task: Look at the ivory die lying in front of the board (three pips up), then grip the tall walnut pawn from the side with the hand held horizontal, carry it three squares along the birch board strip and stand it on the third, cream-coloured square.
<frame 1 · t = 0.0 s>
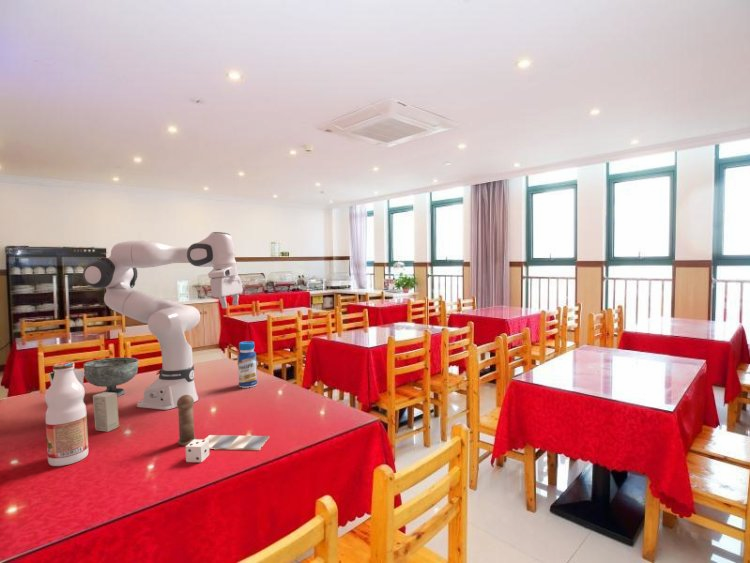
hand: (230, 306, 160), 39 cm above the table, tool pointing down, fingers open, 8 cm apart
board: (233, 443, 124), on the table
pawn: (187, 442, 126), on the table
skincare box: (106, 429, 138), on the table
die: (198, 458, 115), on the table
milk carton: (69, 420, 146), on the table
bowl: (113, 395, 174), on the table
beverage bottle: (248, 386, 184), on the table
fruit juice: (69, 459, 116), on the table
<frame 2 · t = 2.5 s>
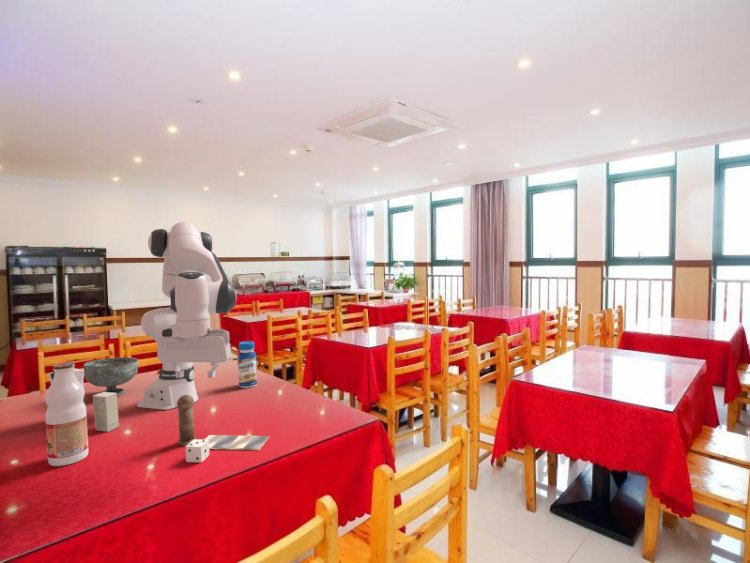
hand: (195, 377, 114), 24 cm above the table, tool pointing down, fingers open, 8 cm apart
nothing on the table moved.
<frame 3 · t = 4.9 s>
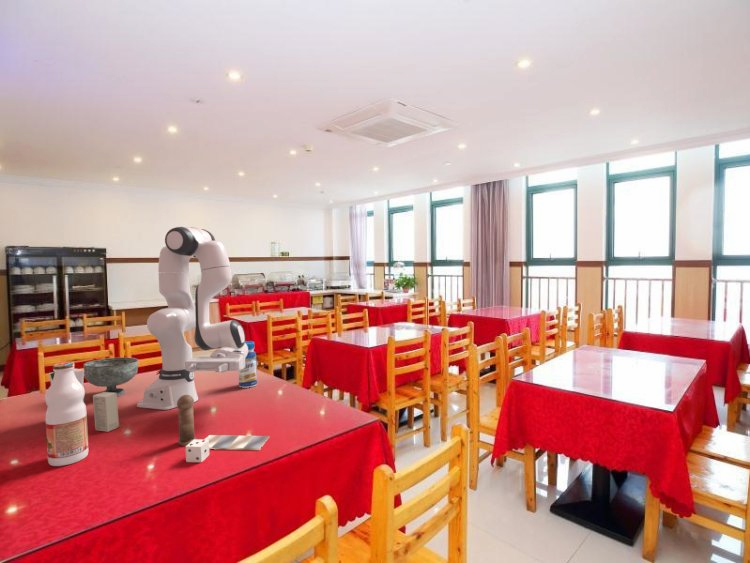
hand: (204, 369, 137), 20 cm above the table, tool horizontal, fingers open, 8 cm apart
nothing on the table moved.
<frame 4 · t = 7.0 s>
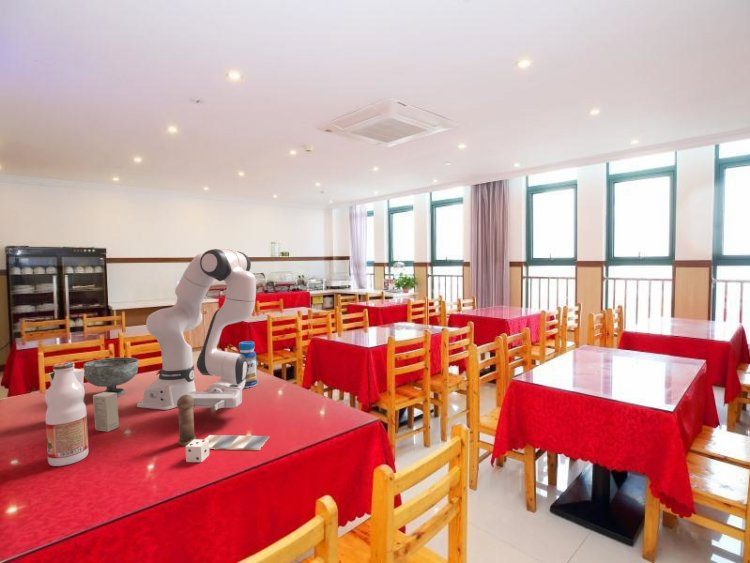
hand: (199, 407, 133), 8 cm above the table, tool horizontal, fingers open, 8 cm apart
nothing on the table moved.
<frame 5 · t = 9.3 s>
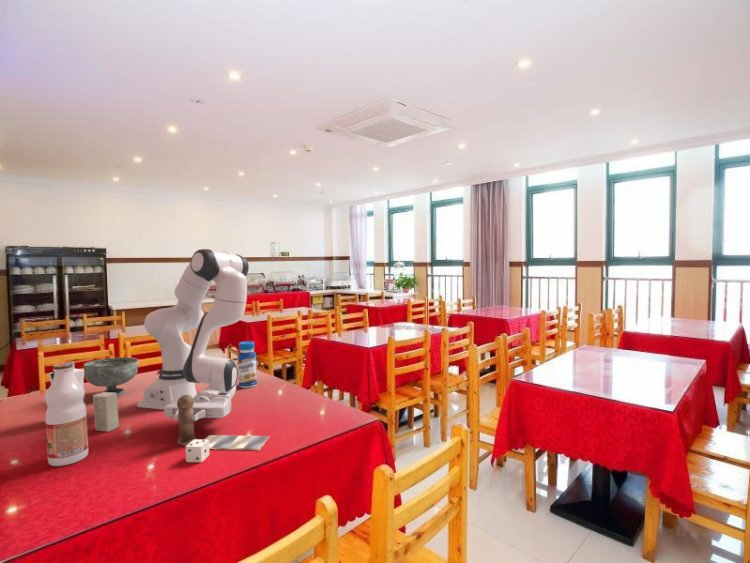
hand: (184, 418, 124), 8 cm above the table, tool horizontal, fingers closed on pawn, 4 cm apart
pawn: (187, 442, 126), on the table, touching gripper
everything else where it was.
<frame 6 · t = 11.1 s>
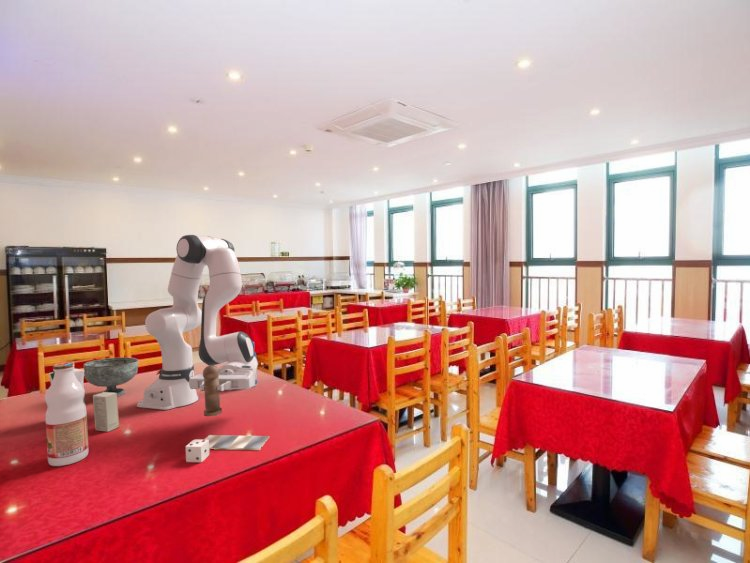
hand: (210, 388, 123), 18 cm above the table, tool horizontal, fingers closed on pawn, 4 cm apart
pawn: (213, 413, 124), point 9 cm above the table, touching gripper
everything else where it was.
when the fingers open (10 cm above the table, at t = 13.3 s): pawn drops 1 cm, resting on board.
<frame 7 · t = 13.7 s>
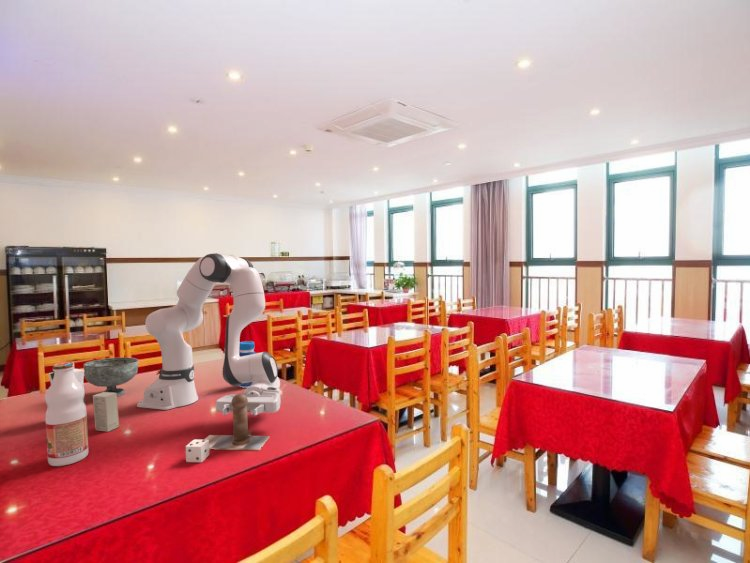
hand: (238, 412, 123), 10 cm above the table, tool horizontal, fingers open, 8 cm apart
pawn: (241, 441, 124), point 1 cm above the table, touching board
everything else where it was.
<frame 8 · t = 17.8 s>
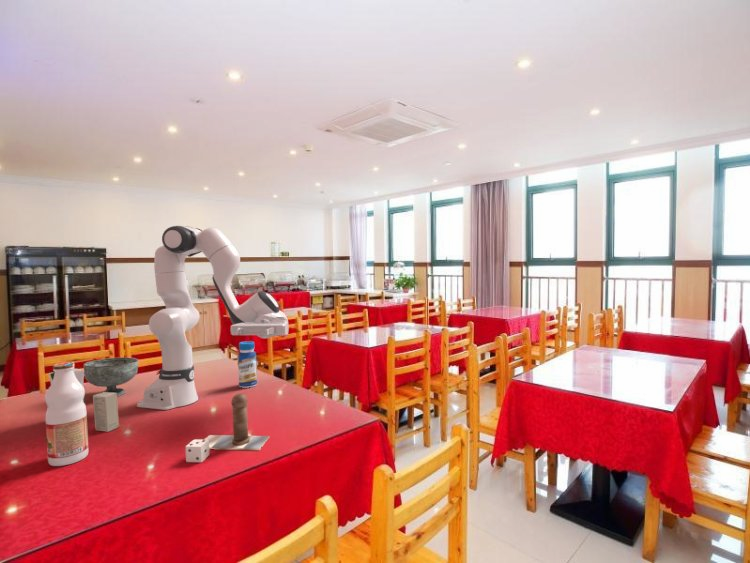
hand: (251, 332, 138), 32 cm above the table, tool horizontal, fingers open, 8 cm apart
nothing on the table moved.
at the end: pawn inside the target area on the board (0.0 cm from its centre), point 0.5 cm above the board's base; pawn tilted 0°; the gripper is holding nothing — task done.
